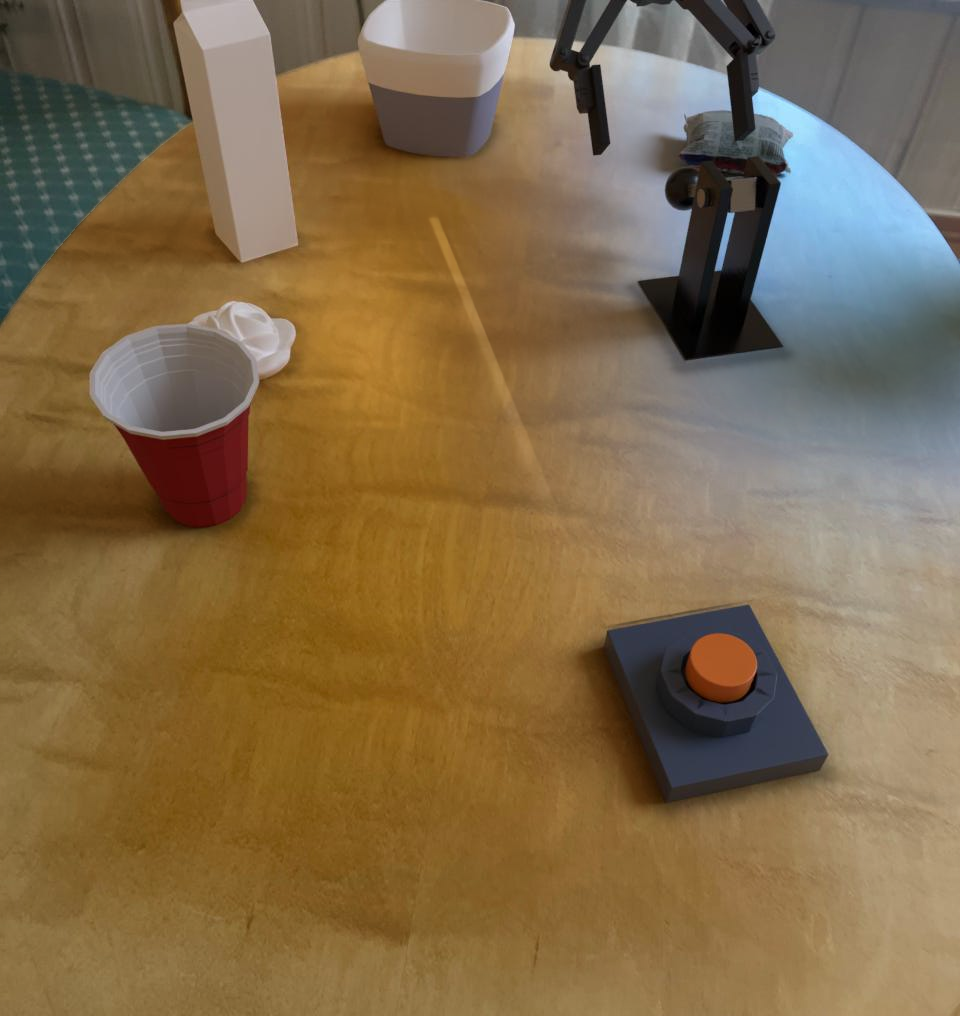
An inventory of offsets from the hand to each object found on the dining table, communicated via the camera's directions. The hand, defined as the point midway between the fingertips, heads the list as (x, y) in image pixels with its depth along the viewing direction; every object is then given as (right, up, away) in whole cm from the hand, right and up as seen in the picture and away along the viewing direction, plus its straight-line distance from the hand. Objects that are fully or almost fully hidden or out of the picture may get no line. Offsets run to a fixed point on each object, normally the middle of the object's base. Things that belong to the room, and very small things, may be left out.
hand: (674, 143), depth 90 cm
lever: (+2, -8, -4) cm, 9 cm away
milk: (-39, -6, +7) cm, 40 cm away
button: (-3, -47, -28) cm, 55 cm away
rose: (-37, -20, -4) cm, 43 cm away
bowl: (-22, +11, +21) cm, 32 cm away
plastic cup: (-37, -34, -15) cm, 53 cm away
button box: (-3, -49, -25) cm, 55 cm away
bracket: (+3, -16, 0) cm, 16 cm away
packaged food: (+10, +7, +19) cm, 22 cm away
